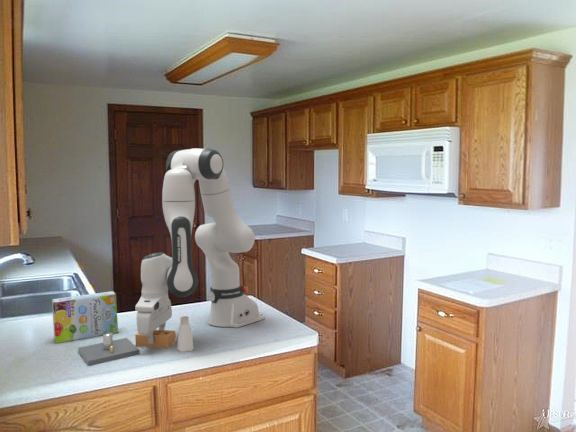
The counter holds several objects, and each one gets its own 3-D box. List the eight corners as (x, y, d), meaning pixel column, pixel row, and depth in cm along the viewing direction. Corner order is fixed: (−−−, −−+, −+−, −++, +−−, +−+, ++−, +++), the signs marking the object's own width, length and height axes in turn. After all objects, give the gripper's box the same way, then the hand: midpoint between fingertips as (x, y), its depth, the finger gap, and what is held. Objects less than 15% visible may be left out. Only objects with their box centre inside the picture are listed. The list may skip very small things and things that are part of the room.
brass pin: (113, 355, 159) (112, 345, 159) (114, 356, 158) (113, 346, 158) (109, 356, 159) (109, 346, 158) (110, 357, 158) (110, 347, 157)
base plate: (126, 341, 172) (126, 337, 172) (139, 354, 161) (139, 349, 160) (78, 352, 163) (78, 347, 163) (88, 365, 151) (88, 361, 151)
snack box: (115, 329, 186) (113, 290, 185) (118, 333, 181) (116, 293, 180) (54, 339, 176) (51, 298, 174) (55, 344, 171) (52, 302, 169)
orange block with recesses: (135, 345, 168) (135, 334, 167) (144, 339, 174) (143, 328, 173) (168, 348, 166) (167, 336, 165) (175, 341, 171) (175, 330, 171)
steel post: (112, 350, 164) (111, 331, 163) (114, 353, 161) (113, 334, 161) (102, 352, 162) (101, 333, 161) (105, 355, 160) (104, 336, 159)
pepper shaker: (194, 345, 167) (193, 314, 166) (193, 351, 162) (192, 319, 161) (177, 346, 167) (176, 315, 166) (176, 352, 161) (175, 320, 160)
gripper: (159, 292, 179) (160, 328, 180) (132, 307, 159) (134, 348, 160) (175, 292, 178) (176, 329, 179) (150, 308, 158) (152, 349, 159)
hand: (156, 338), depth 170 cm, fingers open, 6 cm apart
